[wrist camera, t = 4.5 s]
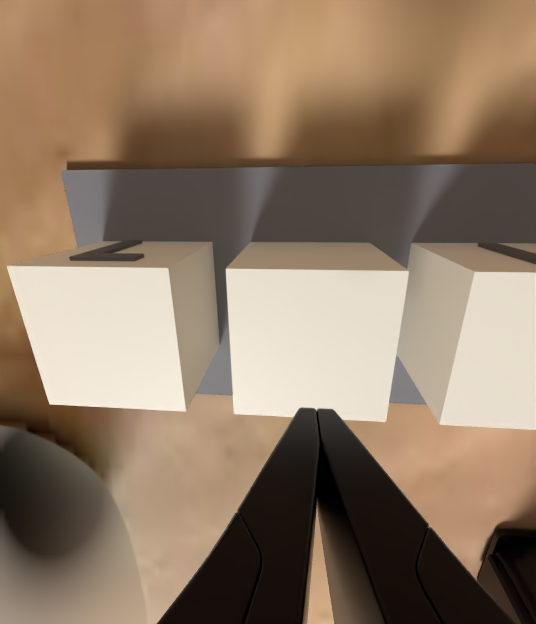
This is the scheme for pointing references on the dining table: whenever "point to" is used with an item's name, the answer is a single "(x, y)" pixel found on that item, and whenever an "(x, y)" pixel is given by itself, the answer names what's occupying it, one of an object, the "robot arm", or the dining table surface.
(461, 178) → the tap mat
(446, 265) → the digit block 1
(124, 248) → the digit block 7
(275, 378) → the blank block
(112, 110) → the dining table surface
